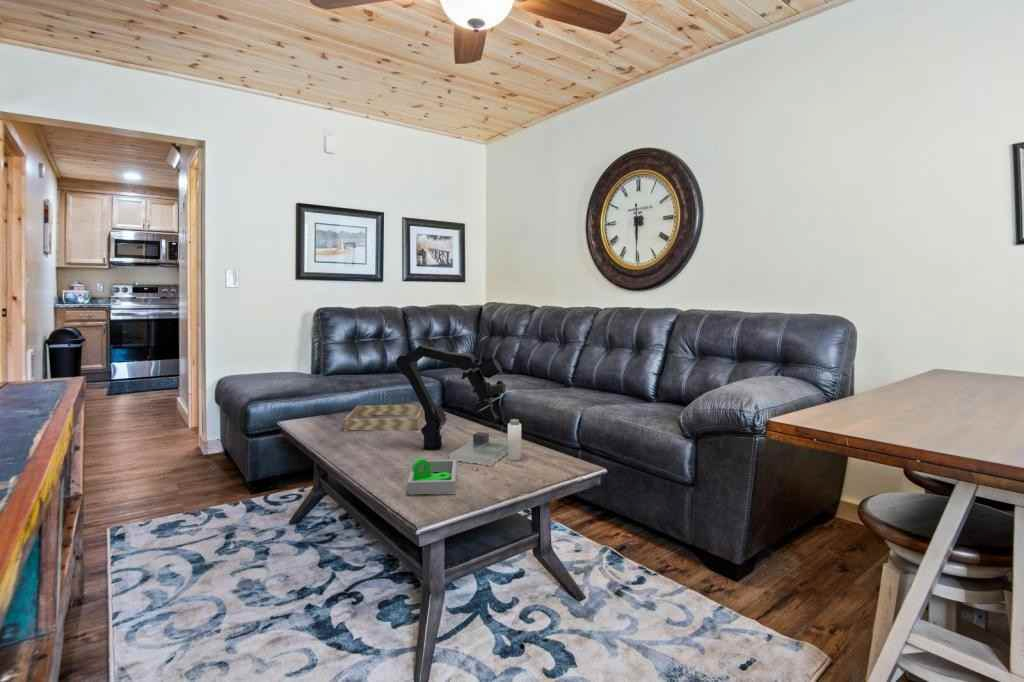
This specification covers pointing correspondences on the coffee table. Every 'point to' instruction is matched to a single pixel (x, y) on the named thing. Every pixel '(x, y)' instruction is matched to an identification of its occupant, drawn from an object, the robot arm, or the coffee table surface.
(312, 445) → the coffee table surface
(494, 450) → the plate
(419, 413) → the woven basket tray
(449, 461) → the parts tray
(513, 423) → the cream bottle
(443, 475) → the mechanical part
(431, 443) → the robot arm
